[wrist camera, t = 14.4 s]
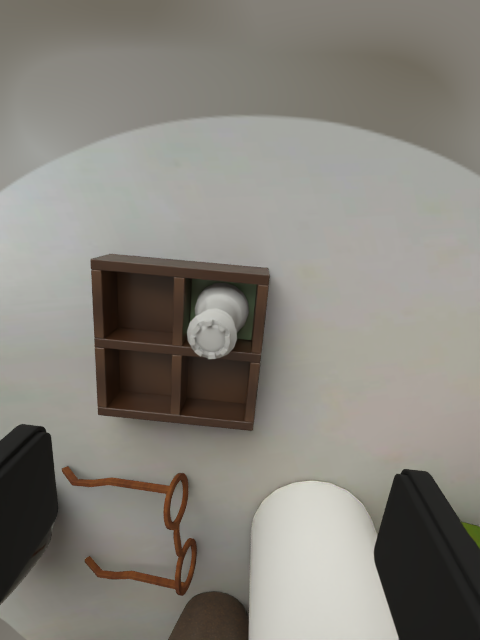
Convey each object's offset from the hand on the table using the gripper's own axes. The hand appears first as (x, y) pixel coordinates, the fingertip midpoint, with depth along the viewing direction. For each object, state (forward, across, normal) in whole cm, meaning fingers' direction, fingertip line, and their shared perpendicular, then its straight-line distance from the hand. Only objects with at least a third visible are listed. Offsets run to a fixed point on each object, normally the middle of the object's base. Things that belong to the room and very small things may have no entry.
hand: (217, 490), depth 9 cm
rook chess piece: (+20, +2, +1) cm, 20 cm away
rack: (+21, +5, +4) cm, 22 cm away
